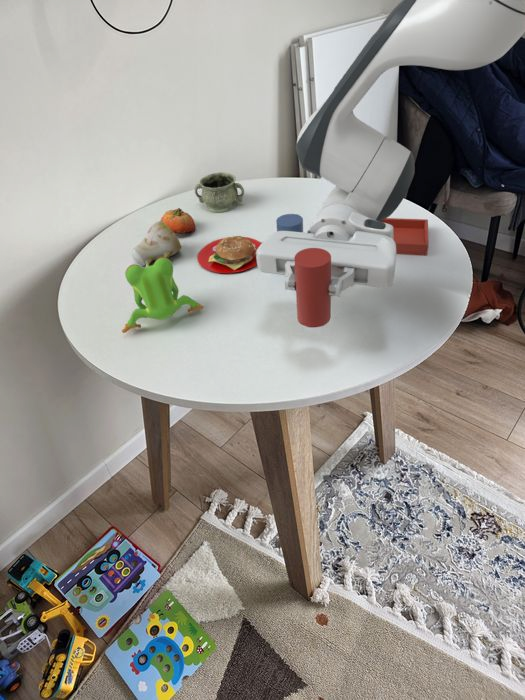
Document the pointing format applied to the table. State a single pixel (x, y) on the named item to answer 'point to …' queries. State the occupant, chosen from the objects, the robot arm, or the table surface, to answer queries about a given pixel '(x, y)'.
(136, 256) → the mug
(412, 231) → the red tray
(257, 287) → the table surface
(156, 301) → the toy
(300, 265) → the red canister
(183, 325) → the table surface
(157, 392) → the table surface
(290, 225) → the blue canister
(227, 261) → the hamburger
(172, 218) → the tomato
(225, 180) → the vessel
